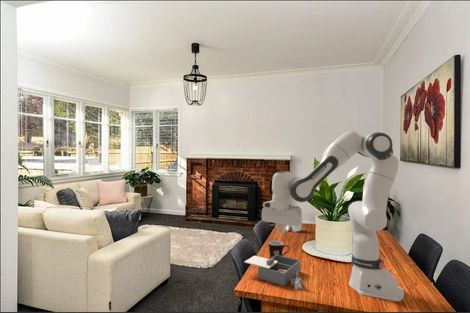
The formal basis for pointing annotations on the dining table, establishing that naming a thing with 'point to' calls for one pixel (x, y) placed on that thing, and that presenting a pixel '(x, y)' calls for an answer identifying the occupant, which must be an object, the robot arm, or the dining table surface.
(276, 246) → the coffee mug
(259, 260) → the sliding lid
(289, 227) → the spread jar
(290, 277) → the box
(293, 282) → the house of cards
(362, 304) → the dining table surface
